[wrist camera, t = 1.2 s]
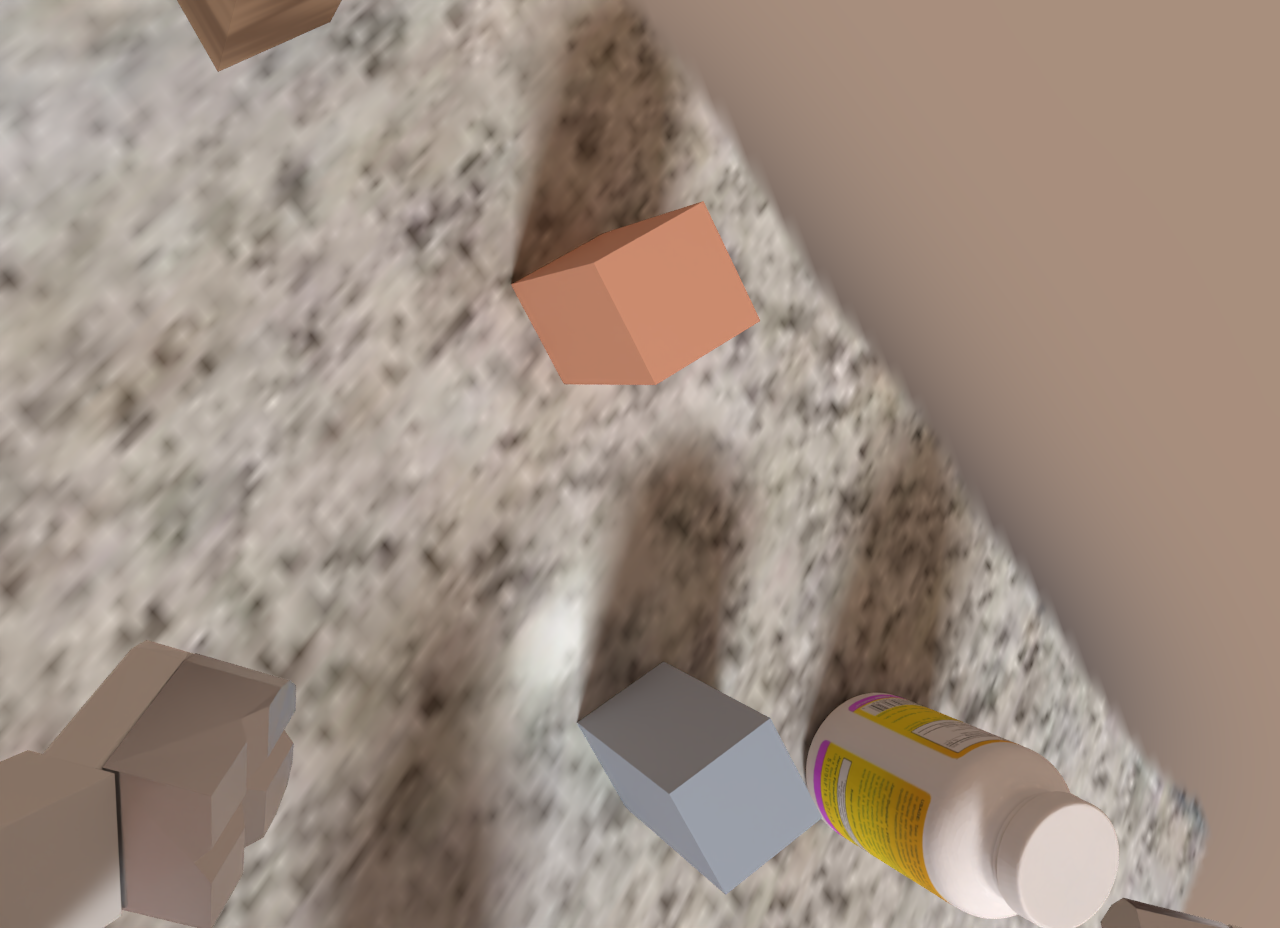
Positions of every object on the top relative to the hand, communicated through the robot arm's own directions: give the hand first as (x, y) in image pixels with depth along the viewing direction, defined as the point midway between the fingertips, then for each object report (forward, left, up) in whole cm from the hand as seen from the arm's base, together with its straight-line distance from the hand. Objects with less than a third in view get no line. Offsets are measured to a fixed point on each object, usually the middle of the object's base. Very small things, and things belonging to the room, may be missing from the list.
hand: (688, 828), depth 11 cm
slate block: (+15, -8, -34) cm, 38 cm away
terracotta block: (+10, +9, -34) cm, 36 cm away
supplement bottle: (+26, -9, -34) cm, 44 cm away
